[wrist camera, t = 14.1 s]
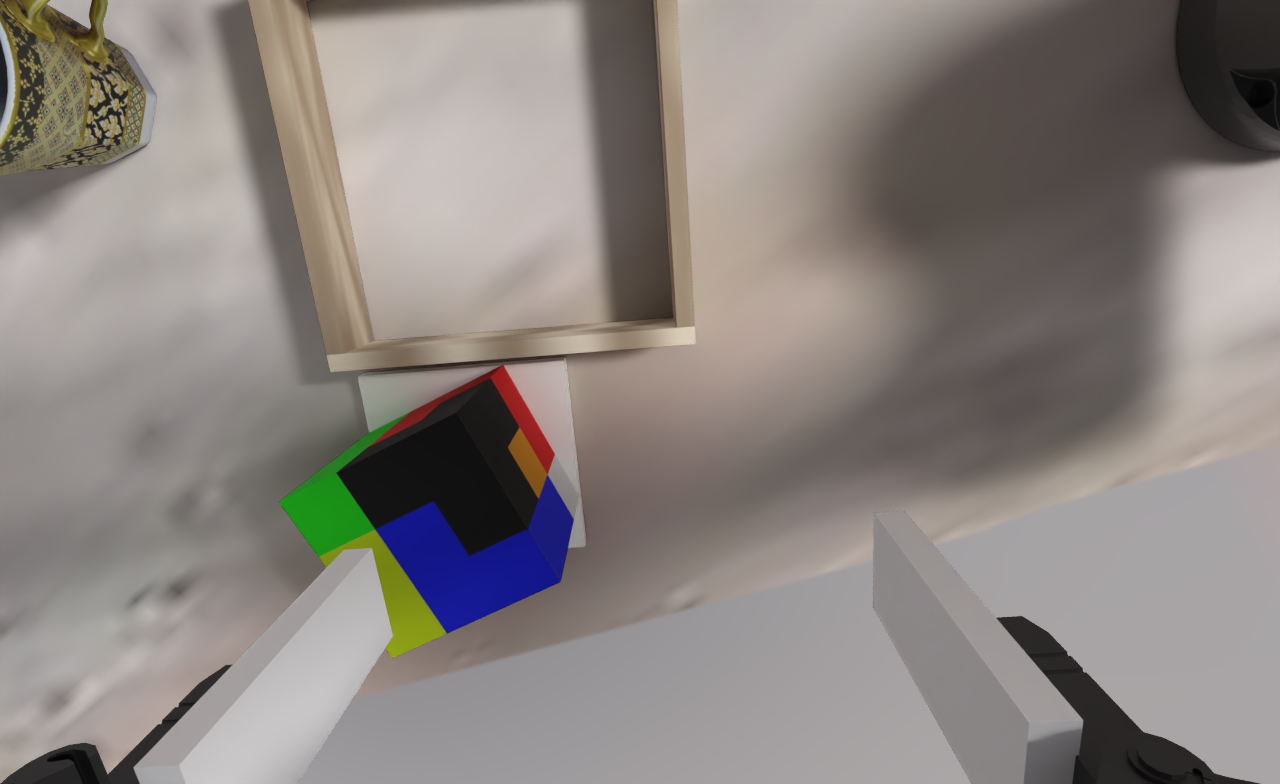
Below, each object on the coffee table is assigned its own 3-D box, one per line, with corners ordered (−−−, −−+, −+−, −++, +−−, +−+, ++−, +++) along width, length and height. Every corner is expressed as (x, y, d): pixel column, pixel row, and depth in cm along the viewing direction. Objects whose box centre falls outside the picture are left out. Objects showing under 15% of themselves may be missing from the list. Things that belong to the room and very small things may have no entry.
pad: (565, 357, 38) (563, 360, 37) (586, 539, 42) (585, 546, 41) (364, 372, 38) (357, 376, 38) (401, 553, 42) (395, 560, 41)
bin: (668, -53, 32) (672, -91, 28) (689, 331, 38) (695, 343, 34) (284, -19, 33) (236, -52, 29) (361, 357, 38) (330, 372, 34)
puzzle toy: (579, 495, 40) (560, 582, 30) (450, 556, 41) (392, 658, 31) (503, 364, 37) (456, 412, 28) (368, 433, 39) (278, 501, 29)
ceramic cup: (82, 219, 36) (-122, 216, 26) (-31, 49, 33) (-300, -23, 24) (266, 125, 35) (123, 86, 25) (163, -59, 32) (-40, -182, 23)
